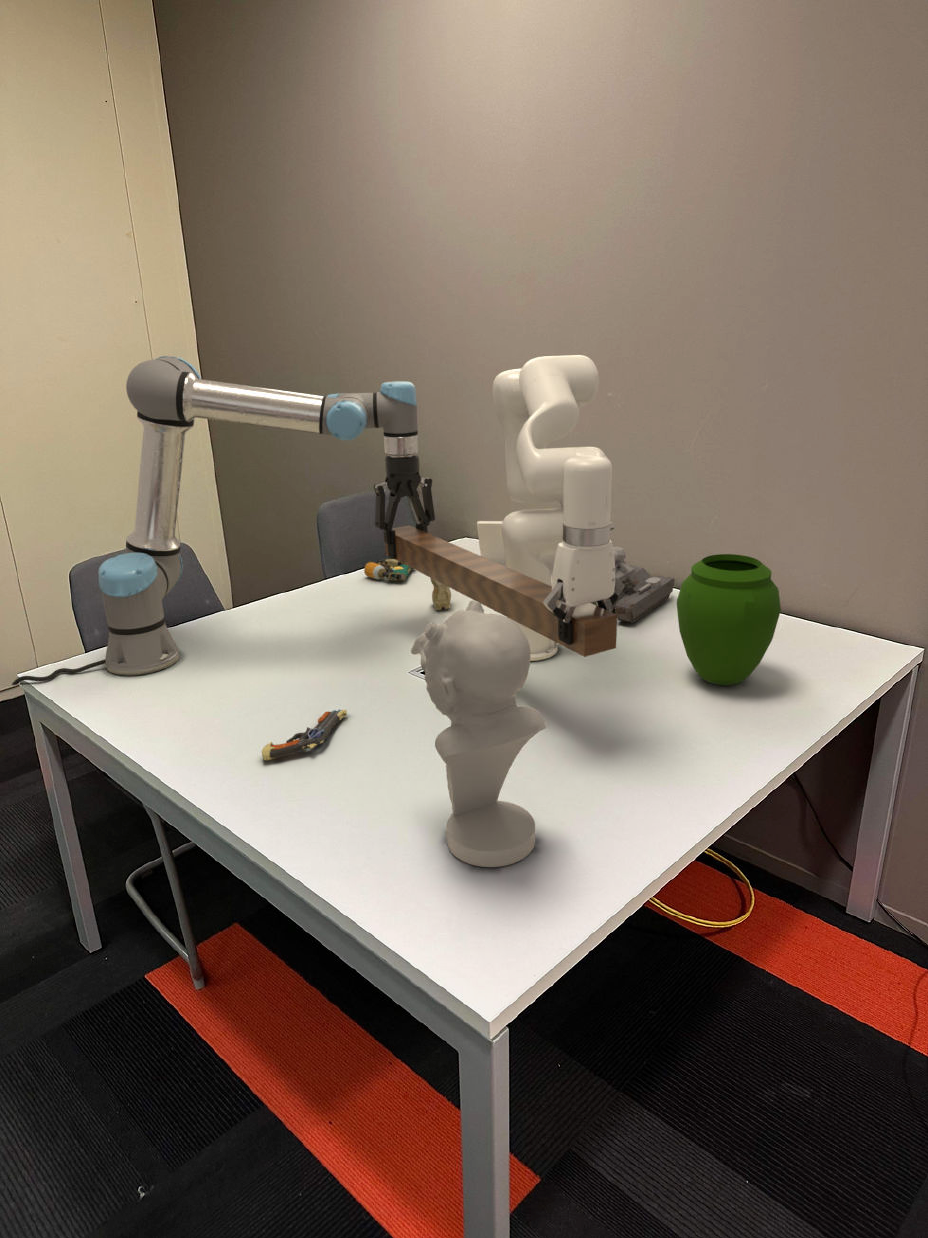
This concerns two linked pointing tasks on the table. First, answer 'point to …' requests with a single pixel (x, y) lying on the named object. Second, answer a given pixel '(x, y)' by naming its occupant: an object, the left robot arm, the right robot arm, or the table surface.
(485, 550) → the tablet stand
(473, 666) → the bust sculpture
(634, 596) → the toy
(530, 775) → the table surface
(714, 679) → the vase
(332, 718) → the toy gun
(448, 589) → the sculpture
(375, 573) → the spray gun
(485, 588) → the beam
